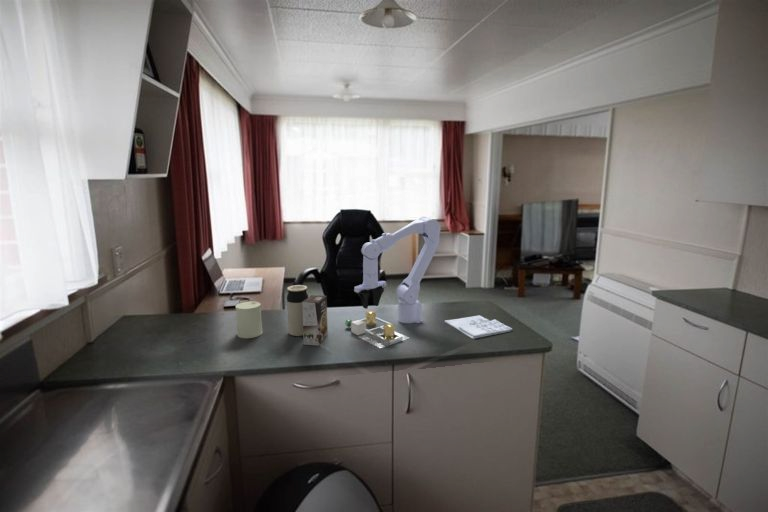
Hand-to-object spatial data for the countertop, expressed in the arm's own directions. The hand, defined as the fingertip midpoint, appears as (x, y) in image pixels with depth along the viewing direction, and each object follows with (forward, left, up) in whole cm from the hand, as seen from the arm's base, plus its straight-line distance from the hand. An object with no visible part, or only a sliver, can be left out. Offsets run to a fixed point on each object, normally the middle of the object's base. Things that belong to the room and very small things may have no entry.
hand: (370, 306), depth 164 cm
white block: (+9, +4, -8) cm, 13 cm away
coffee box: (+24, -2, -9) cm, 26 cm away
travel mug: (+25, -13, -9) cm, 29 cm away
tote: (0, 0, -8) cm, 8 cm away
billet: (0, 0, -8) cm, 8 cm away
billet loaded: (+5, +17, -7) cm, 19 cm away
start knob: (+9, +1, -7) cm, 11 cm away
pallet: (+5, +14, -8) cm, 17 cm away
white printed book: (-33, +27, -9) cm, 44 cm away
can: (+40, -24, -9) cm, 47 cm away
